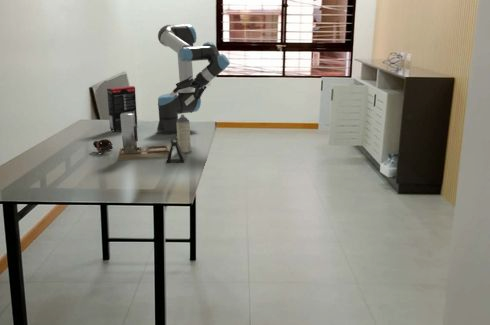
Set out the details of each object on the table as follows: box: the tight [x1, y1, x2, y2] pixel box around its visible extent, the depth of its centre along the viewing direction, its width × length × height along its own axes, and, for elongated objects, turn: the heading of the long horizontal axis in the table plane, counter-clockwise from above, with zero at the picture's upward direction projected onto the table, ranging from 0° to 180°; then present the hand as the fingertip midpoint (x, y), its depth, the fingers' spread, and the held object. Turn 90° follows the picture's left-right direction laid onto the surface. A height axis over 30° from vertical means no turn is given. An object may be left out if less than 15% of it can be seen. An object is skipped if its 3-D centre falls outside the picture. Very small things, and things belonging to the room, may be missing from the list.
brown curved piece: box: [92, 138, 114, 154], centre depth 281 cm, size 12×10×8 cm
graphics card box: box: [106, 85, 138, 132], centre depth 334 cm, size 17×7×27 cm, turn 133°
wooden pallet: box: [117, 144, 170, 161], centre depth 272 cm, size 11×26×4 cm, turn 101°
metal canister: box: [120, 113, 139, 153], centre depth 268 cm, size 7×8×20 cm
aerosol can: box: [176, 113, 192, 154], centre depth 276 cm, size 7×7×20 cm
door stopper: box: [165, 136, 186, 164], centre depth 259 cm, size 9×6×12 cm, turn 93°
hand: (178, 100), depth 297 cm, fingers open, 13 cm apart
